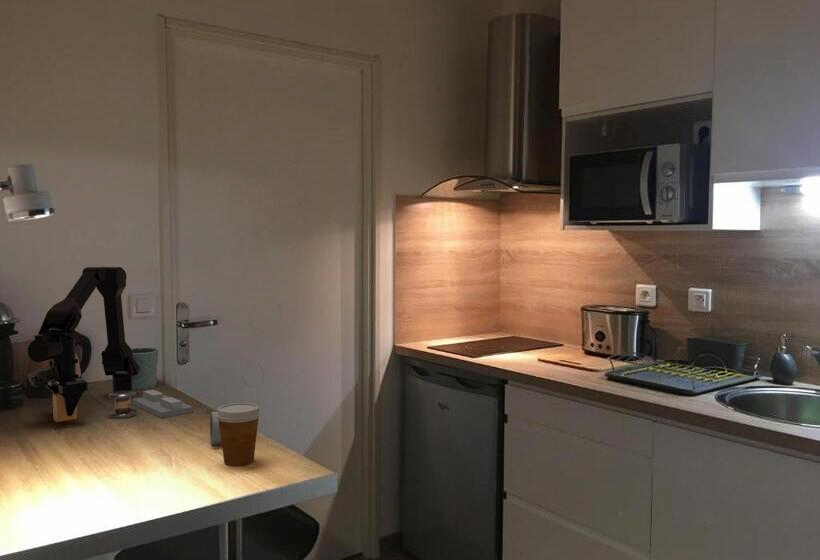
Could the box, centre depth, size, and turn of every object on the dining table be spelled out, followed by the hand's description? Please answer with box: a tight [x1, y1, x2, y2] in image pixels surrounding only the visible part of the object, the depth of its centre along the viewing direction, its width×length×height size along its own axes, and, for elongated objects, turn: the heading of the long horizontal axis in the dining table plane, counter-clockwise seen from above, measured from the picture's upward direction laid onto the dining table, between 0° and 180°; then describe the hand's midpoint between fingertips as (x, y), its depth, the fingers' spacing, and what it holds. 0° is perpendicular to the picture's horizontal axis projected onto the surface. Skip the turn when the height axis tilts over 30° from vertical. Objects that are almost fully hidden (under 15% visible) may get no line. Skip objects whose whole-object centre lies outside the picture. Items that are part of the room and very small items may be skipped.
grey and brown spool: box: [108, 390, 138, 419], centre depth 192 cm, size 7×7×6 cm
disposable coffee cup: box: [216, 402, 262, 467], centre depth 153 cm, size 10×10×12 cm
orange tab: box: [52, 393, 78, 423], centre depth 187 cm, size 3×5×7 cm, turn 133°
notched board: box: [131, 389, 194, 419], centre depth 199 cm, size 20×9×4 cm, turn 43°
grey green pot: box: [131, 346, 159, 390], centre depth 226 cm, size 10×10×12 cm
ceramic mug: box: [209, 411, 222, 446], centre depth 169 cm, size 11×8×8 cm
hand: (65, 413), depth 187 cm, fingers open, 7 cm apart
